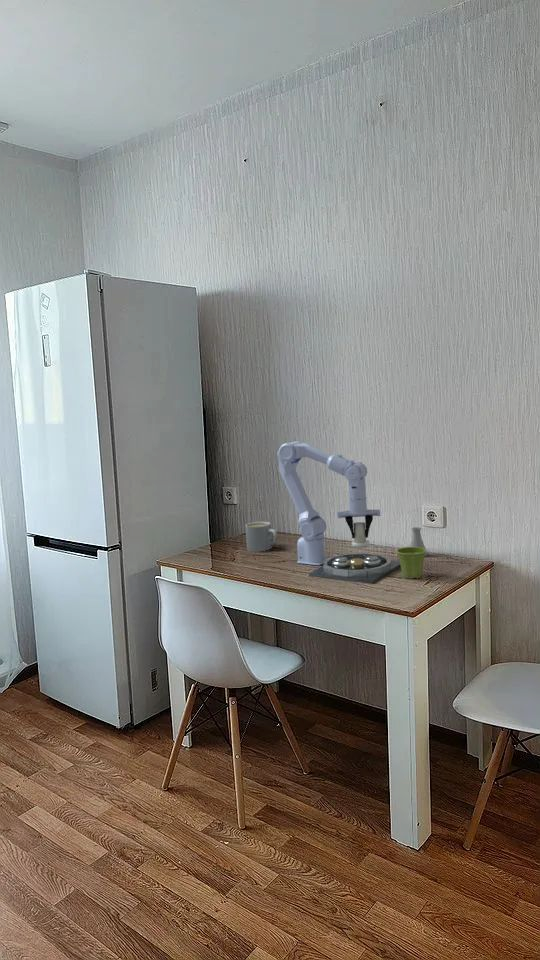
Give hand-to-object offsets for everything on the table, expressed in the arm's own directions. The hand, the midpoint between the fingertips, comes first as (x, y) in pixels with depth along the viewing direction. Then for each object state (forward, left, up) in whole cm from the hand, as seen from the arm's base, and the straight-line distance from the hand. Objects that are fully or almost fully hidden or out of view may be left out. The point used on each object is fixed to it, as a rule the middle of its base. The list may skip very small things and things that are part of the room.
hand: (360, 537), depth 236 cm
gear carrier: (+1, -6, -10) cm, 12 cm away
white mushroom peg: (0, 0, -3) cm, 3 cm away
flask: (+12, +19, -10) cm, 25 cm away
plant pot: (+21, -6, -10) cm, 24 cm away
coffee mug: (-48, +7, -10) cm, 49 cm away
